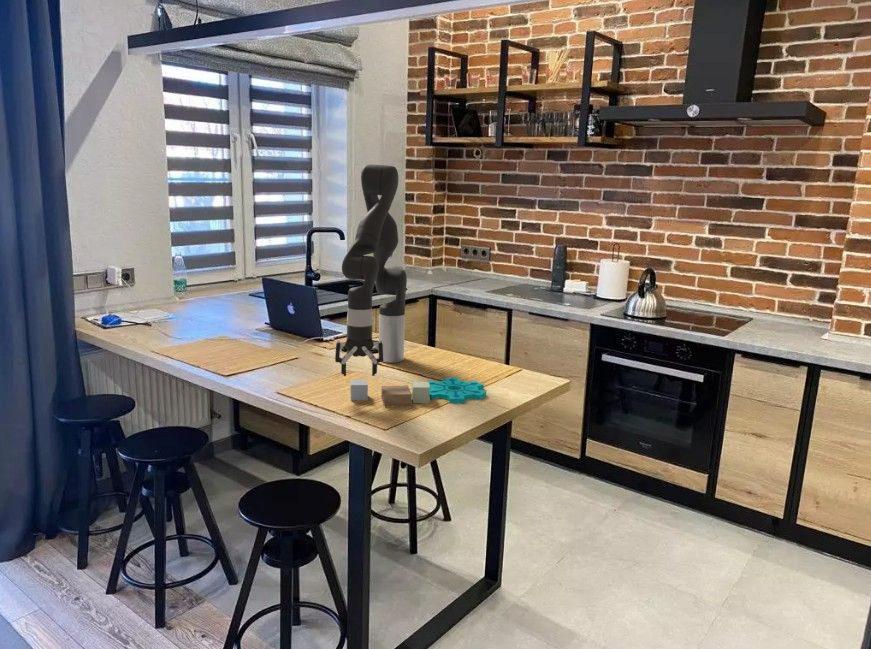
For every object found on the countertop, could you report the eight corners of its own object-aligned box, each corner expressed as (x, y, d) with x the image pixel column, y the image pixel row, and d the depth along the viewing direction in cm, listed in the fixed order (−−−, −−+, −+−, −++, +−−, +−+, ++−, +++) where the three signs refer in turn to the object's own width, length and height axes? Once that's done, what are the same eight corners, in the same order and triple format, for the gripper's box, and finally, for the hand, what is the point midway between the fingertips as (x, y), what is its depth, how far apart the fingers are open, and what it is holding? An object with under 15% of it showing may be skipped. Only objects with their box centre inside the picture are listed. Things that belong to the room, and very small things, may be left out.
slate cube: (350, 395, 201) (350, 379, 200) (366, 395, 202) (366, 379, 201) (350, 401, 196) (350, 385, 195) (367, 400, 197) (367, 384, 196)
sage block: (428, 397, 202) (411, 397, 201) (428, 382, 201) (412, 382, 200) (429, 403, 197) (412, 403, 196) (429, 387, 196) (413, 387, 195)
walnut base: (381, 398, 200) (381, 386, 199) (407, 397, 202) (407, 385, 201) (384, 407, 192) (384, 395, 191) (411, 406, 194) (411, 394, 193)
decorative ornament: (489, 404, 198) (481, 382, 218) (489, 399, 198) (481, 378, 217) (424, 403, 197) (421, 382, 217) (424, 398, 197) (422, 377, 216)
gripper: (382, 320, 198) (381, 371, 202) (335, 319, 196) (335, 371, 200) (384, 325, 191) (383, 378, 195) (335, 325, 189) (335, 379, 192)
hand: (359, 375), depth 197 cm, fingers open, 8 cm apart
